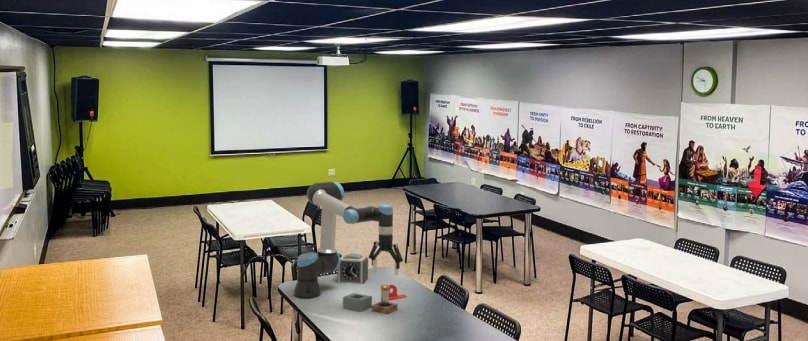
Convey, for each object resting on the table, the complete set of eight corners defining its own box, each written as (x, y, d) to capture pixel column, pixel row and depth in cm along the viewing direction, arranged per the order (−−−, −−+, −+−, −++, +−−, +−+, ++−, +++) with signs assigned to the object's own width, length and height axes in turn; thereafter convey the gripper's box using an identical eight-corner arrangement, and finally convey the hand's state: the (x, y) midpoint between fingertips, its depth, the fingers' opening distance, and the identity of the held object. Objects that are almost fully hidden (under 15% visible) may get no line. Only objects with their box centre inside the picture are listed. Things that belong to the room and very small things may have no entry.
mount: (371, 311, 337) (371, 305, 337) (381, 306, 346) (382, 301, 345) (387, 314, 332) (387, 308, 332) (397, 309, 340) (397, 303, 340)
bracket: (389, 301, 357) (389, 287, 356) (385, 299, 360) (385, 285, 360) (407, 298, 363) (407, 284, 362) (403, 296, 366) (403, 282, 366)
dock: (342, 307, 342) (343, 297, 341) (353, 303, 350) (353, 292, 350) (361, 311, 336) (361, 300, 335) (371, 307, 344) (371, 296, 344)
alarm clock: (335, 285, 387) (335, 256, 386) (341, 280, 400) (341, 251, 399) (364, 287, 384) (365, 257, 383) (369, 282, 397) (369, 253, 396)
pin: (378, 310, 338) (379, 286, 337) (383, 308, 342) (383, 284, 341) (386, 312, 336) (386, 287, 335) (390, 309, 340) (390, 285, 338)
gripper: (362, 232, 339) (362, 271, 340) (402, 237, 326) (401, 277, 327) (370, 230, 345) (369, 269, 347) (409, 235, 332) (409, 274, 334)
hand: (385, 273), depth 337 cm, fingers open, 13 cm apart
